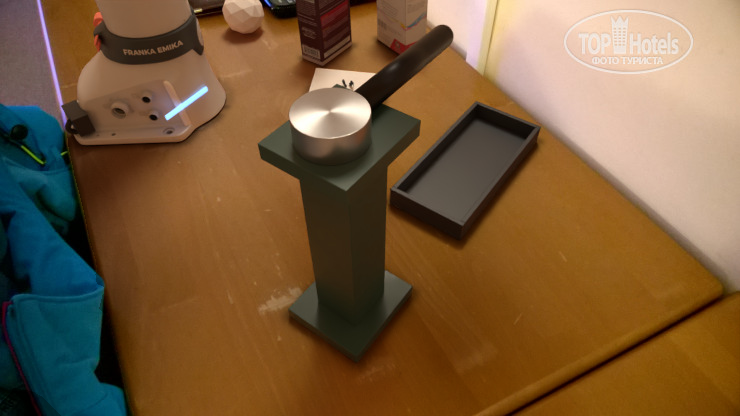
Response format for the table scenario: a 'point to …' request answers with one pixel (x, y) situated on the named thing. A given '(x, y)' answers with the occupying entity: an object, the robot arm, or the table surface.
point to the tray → (464, 169)
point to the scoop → (356, 105)
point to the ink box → (401, 22)
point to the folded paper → (338, 79)
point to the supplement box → (323, 28)
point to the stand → (347, 233)
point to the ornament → (243, 15)
